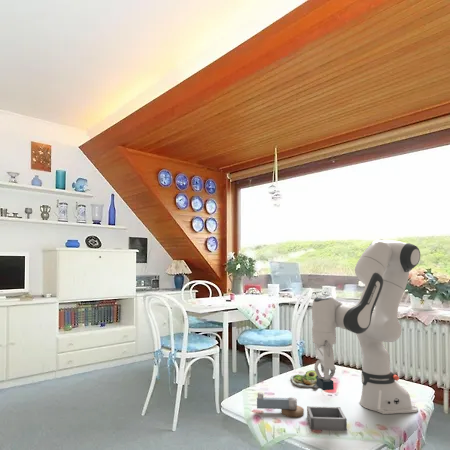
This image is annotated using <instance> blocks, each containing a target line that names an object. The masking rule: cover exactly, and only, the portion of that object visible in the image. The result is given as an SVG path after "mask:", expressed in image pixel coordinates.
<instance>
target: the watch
mask: <svg viewBox="0 0 450 450" xmlns="http://www.w3.org/2000/svg"><path fill="white" fill-rule="evenodd" d="M320 362H321V360H320V359H318V358H317V360H316V361H315V362H314V368H313V369H314V371H315V372H316V374H317V376H318V377H316V380H317V386H318V388H319V389H321V390H322V391H333V390H335V388H334V380H332V378H333V377H334V376H335V373H336V369H337V368H336V366H335V365H334V369H330V370H329V377H322V376H323V375H322V374H320V373H321V372H320V371H319V364H320Z"/></svg>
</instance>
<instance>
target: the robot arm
mask: <svg viewBox="0 0 450 450" xmlns="http://www.w3.org/2000/svg"><path fill="white" fill-rule="evenodd" d="M420 260H421V251H420V249H419V247H418V246H417V245H414V244H412V243H407V242H403V241H398V240H384V239H375V240H373V241H372V242H371V243H370V244H369V246H367V248H366V249H365V250H364V252H363V253H362V254H361V256H360V257H359V259H358V260H357V262H356V264H355V267H354V274H355V276H356V278H357V280H358V281H360V282H361V283H362V284H364V289H363V290H362V293H361V295H360V298H359V301H358V302H357V303H356V304H353V305H351V304H347V303H343V302H341V301H338V300H336V299H335V298H333V296H331V295H320V296H317V297H315V298H314V299H313V301H312V305H311V320H312V323H313V324H312V329H311V330H312V331H311V332H312V334H311V336H312V343H314V349H315V350H314V351H315V355H316V356H317V360H318V359H320V360H321V362H320V363H319V364H320V371H321V372H322V374H323V376H324V377H329V375H330V369H334V366H335V355H334V349H333V346H334V345H335V344H337V340H336V339H337V337H336V333H337V332H336V328H339V329H343V330H345V331H349V332H350V333H353V334H356V337H357V340H358V342H359V343H358V344H359V346H360V350H361V359H362V369H361V383H362V387H361V389H362V390H361V397H360V400H359V403H360V404H359V405H360V406H361V407H363V408H366V409H368V410H371V411H374V412H378V413H380V414H382V415H390V414H392V415H394V414H409V413H418V406H417V405H416V403H414V402H413V401H412V400H411V396H410V394H409V392H408V391H407V390H406V389H405V388H404V387H403V386H402V385H400V384H399V382H398V381H399V380H400V377H399V376H398V375H397V374H395V373H393V372H392V371H391V365H390V364H391V363H390V361H391V360H390V354H389V351H388V350H387V349H386V346H385V345H384V343H394V342H396V341H398V340H399V339H400V338H401V335H402V325H401V323H400V322H399V319H398V310H399V306H400V303H401V300H402V297H403V295H404V293H405V290H406V288H407V284H408V281H409V276H410V272H411V271H412V270H413V269H414V268H415V267H416V266H417V265H418V264H419V262H420ZM383 342H384V343H383Z"/></svg>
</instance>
